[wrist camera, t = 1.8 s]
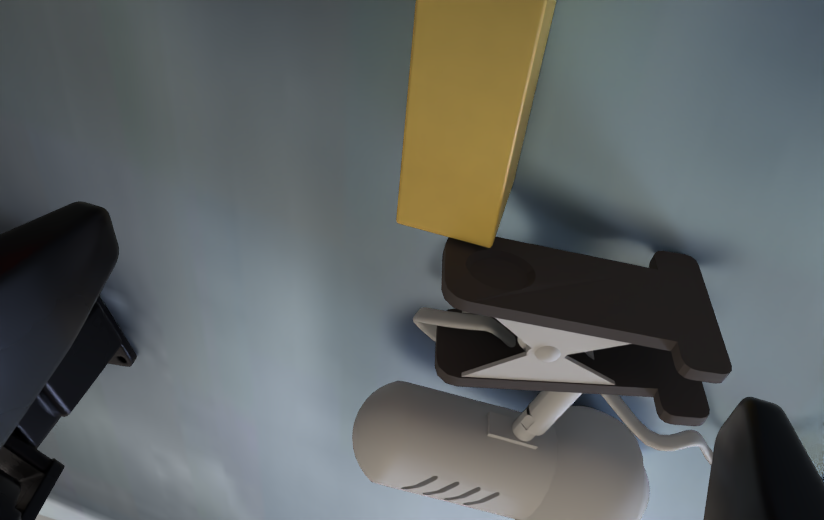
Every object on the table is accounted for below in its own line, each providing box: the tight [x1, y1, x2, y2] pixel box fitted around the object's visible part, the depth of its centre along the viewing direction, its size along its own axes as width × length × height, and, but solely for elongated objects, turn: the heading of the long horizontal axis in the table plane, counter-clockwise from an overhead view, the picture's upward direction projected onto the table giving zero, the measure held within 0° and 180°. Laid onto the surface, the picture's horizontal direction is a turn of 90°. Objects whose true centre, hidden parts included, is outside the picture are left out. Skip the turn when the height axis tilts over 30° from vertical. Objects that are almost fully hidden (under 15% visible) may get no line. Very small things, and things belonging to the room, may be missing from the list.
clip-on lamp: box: [352, 237, 732, 520], centre depth 23 cm, size 12×6×18 cm
